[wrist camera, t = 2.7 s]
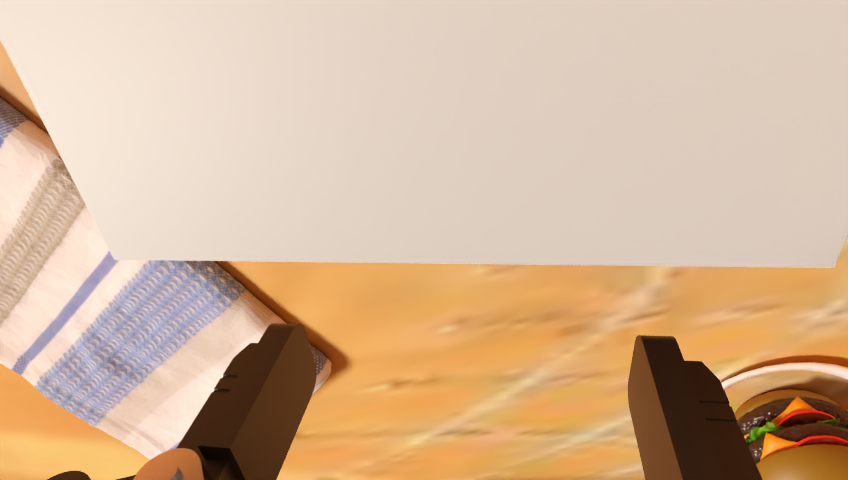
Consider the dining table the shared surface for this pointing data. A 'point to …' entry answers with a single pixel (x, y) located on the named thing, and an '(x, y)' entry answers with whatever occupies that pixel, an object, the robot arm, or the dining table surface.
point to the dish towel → (109, 308)
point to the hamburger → (795, 428)
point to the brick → (449, 128)
